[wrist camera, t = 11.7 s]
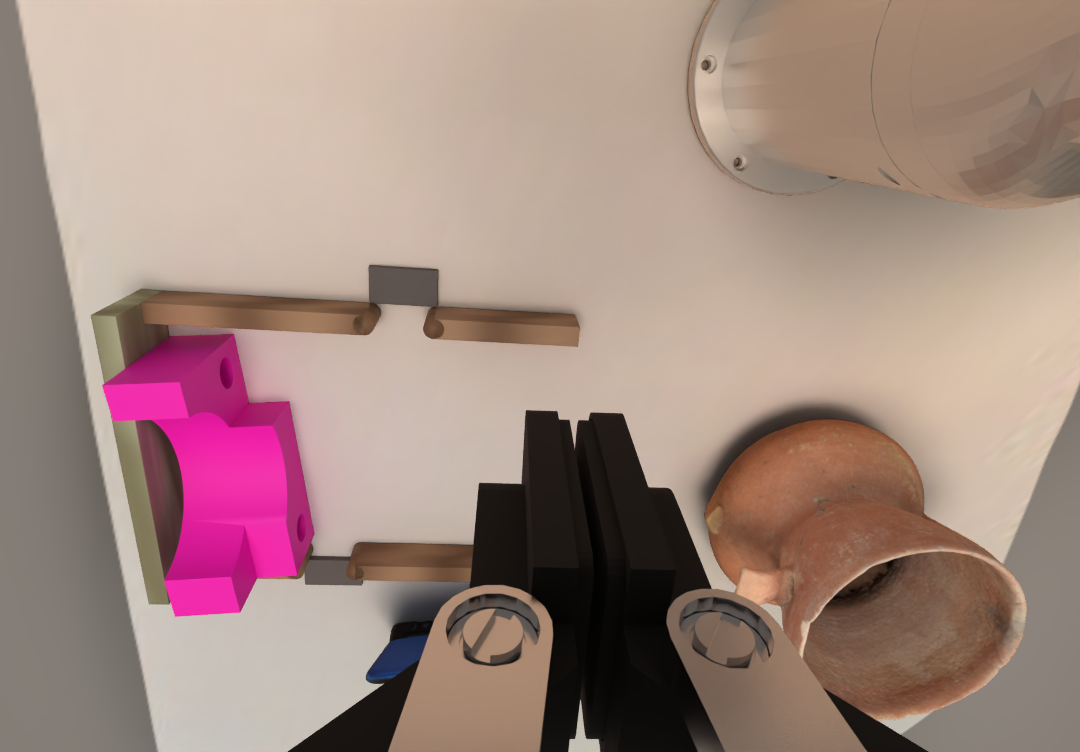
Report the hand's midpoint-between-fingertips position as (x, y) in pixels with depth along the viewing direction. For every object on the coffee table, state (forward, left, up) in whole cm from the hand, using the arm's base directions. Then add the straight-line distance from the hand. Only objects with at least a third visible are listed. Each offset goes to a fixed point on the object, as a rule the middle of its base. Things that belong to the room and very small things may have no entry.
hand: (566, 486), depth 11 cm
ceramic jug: (-22, +18, -28) cm, 40 cm away
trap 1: (+11, +26, -28) cm, 40 cm away
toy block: (+16, +16, -29) cm, 36 cm away
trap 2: (+6, +4, -28) cm, 29 cm away
